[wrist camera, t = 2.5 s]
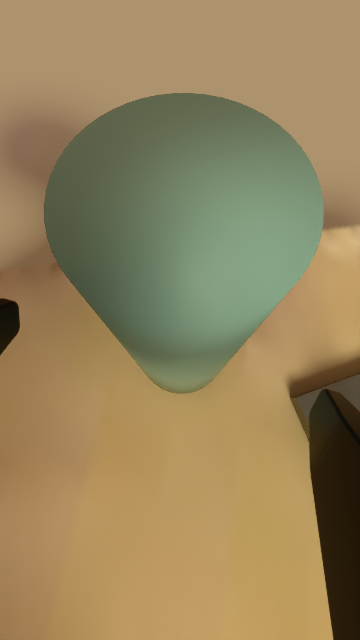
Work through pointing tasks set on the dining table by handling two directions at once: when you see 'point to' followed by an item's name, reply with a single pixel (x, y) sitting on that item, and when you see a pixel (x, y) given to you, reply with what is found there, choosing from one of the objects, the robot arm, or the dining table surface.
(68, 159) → the teal wooden post
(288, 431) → the dining table surface
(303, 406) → the plate
